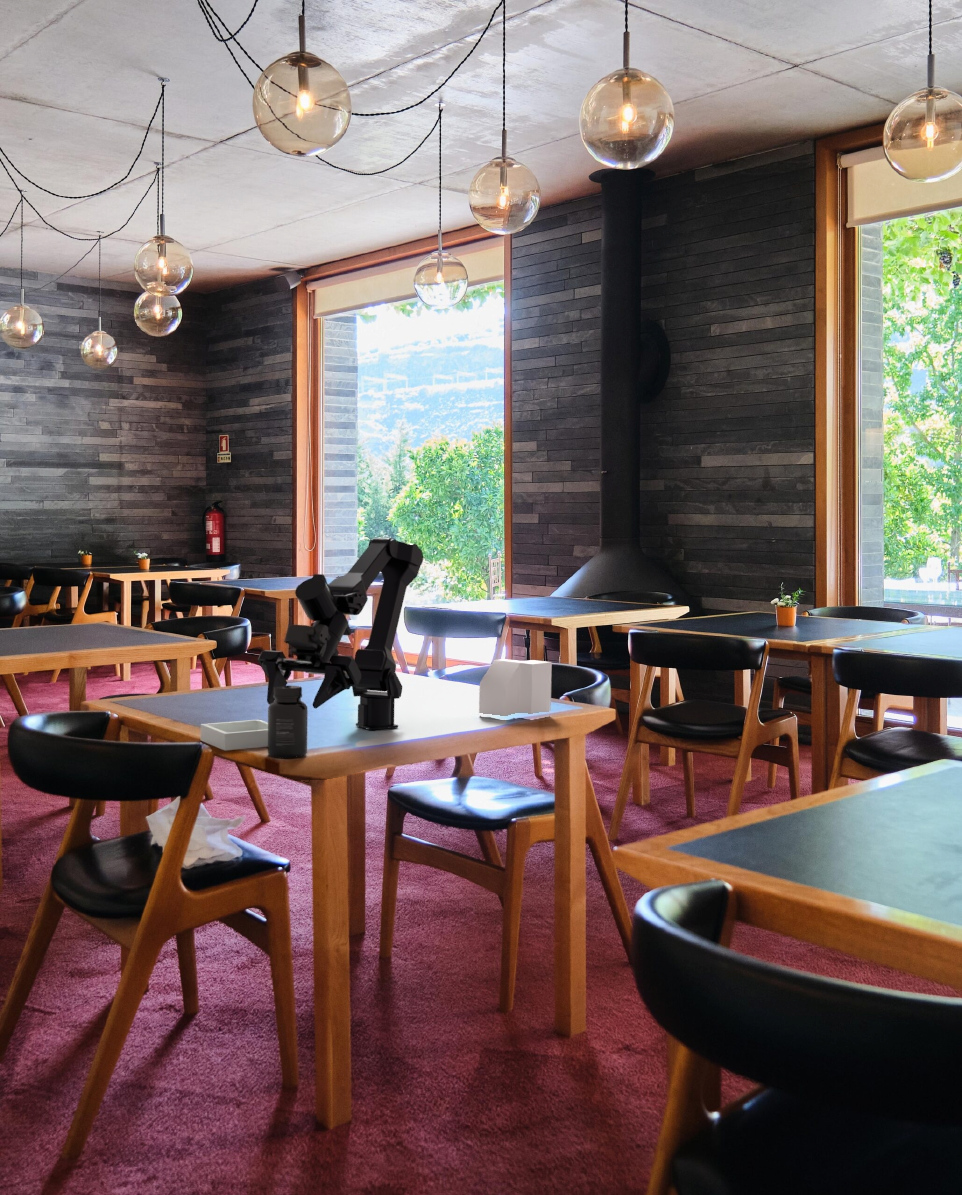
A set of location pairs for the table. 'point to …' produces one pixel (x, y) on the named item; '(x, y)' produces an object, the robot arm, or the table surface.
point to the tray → (236, 734)
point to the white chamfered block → (516, 687)
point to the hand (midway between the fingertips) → (291, 705)
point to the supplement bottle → (287, 723)
